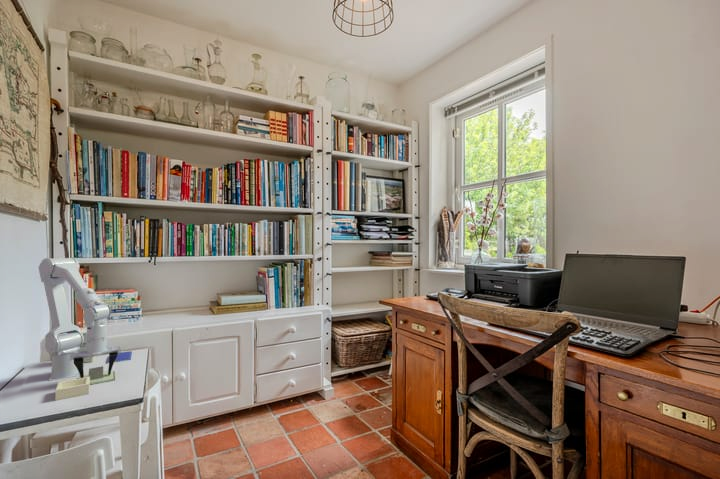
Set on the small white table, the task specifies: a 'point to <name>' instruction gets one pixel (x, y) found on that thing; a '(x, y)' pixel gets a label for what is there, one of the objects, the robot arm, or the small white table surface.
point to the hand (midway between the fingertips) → (96, 376)
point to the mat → (107, 381)
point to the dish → (72, 388)
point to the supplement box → (83, 347)
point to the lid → (98, 375)
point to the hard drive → (123, 356)
